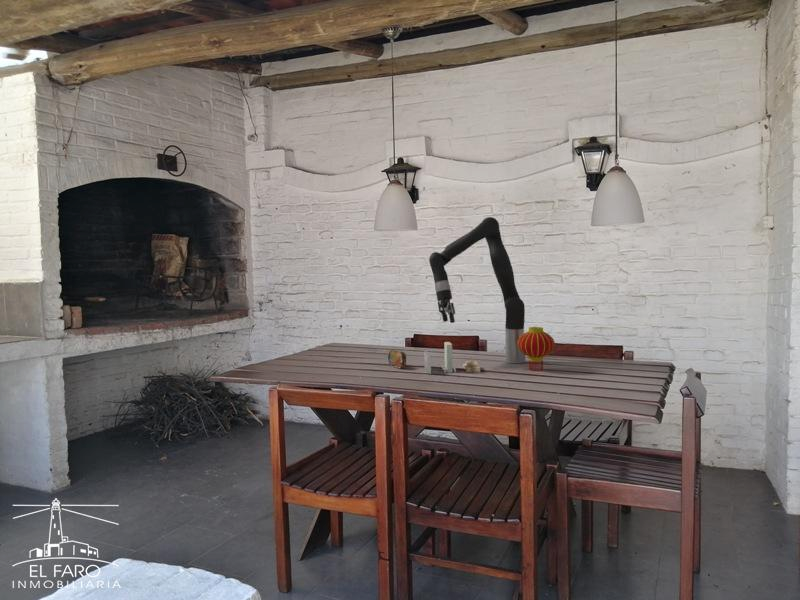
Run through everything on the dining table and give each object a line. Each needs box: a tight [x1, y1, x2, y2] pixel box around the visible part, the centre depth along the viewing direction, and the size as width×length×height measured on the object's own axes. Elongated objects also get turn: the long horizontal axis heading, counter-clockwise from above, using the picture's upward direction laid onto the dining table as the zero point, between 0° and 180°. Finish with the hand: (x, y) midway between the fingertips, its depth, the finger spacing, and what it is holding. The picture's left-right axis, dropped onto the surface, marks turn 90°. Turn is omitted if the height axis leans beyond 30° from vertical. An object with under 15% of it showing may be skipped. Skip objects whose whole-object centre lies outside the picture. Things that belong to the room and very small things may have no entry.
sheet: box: [443, 341, 453, 373], centre depth 290 cm, size 2×10×13 cm, turn 2°
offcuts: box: [462, 360, 481, 373], centre depth 291 cm, size 6×14×4 cm, turn 2°
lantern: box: [517, 326, 556, 372], centre depth 286 cm, size 17×17×30 cm
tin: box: [387, 349, 407, 369], centre depth 301 cm, size 15×3×8 cm, turn 28°
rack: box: [423, 350, 457, 375], centre depth 290 cm, size 14×18×8 cm
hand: (449, 321), depth 304 cm, fingers open, 8 cm apart
